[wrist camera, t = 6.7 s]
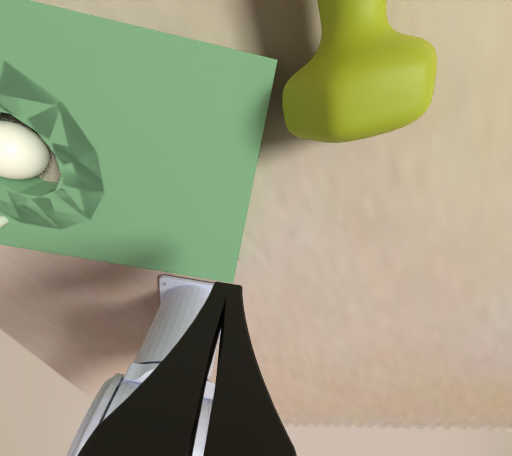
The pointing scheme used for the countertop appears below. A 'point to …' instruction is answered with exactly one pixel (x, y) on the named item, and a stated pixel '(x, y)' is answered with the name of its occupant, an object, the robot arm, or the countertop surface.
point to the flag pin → (3, 221)
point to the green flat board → (131, 140)
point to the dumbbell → (359, 77)
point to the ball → (21, 152)
